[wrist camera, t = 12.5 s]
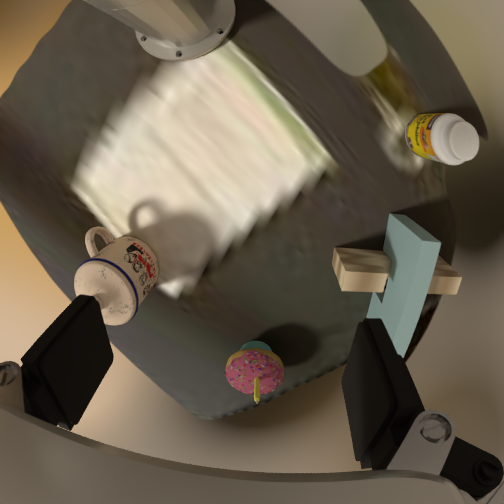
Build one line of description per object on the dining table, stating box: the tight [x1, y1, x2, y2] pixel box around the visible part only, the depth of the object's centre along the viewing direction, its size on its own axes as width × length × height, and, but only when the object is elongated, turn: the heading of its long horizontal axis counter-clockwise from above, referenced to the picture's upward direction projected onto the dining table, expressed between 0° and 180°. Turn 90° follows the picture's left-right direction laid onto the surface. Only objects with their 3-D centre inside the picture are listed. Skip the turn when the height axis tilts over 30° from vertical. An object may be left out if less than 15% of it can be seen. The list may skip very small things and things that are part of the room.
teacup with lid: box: [74, 227, 159, 325], centre depth 35 cm, size 12×9×12 cm
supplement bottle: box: [405, 113, 479, 165], centre depth 27 cm, size 6×6×10 cm
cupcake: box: [225, 341, 284, 404], centre depth 40 cm, size 9×8×12 cm
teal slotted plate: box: [366, 213, 441, 358], centre depth 34 cm, size 16×2×10 cm, turn 177°
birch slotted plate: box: [332, 247, 462, 294], centre depth 35 cm, size 16×2×7 cm, turn 88°
